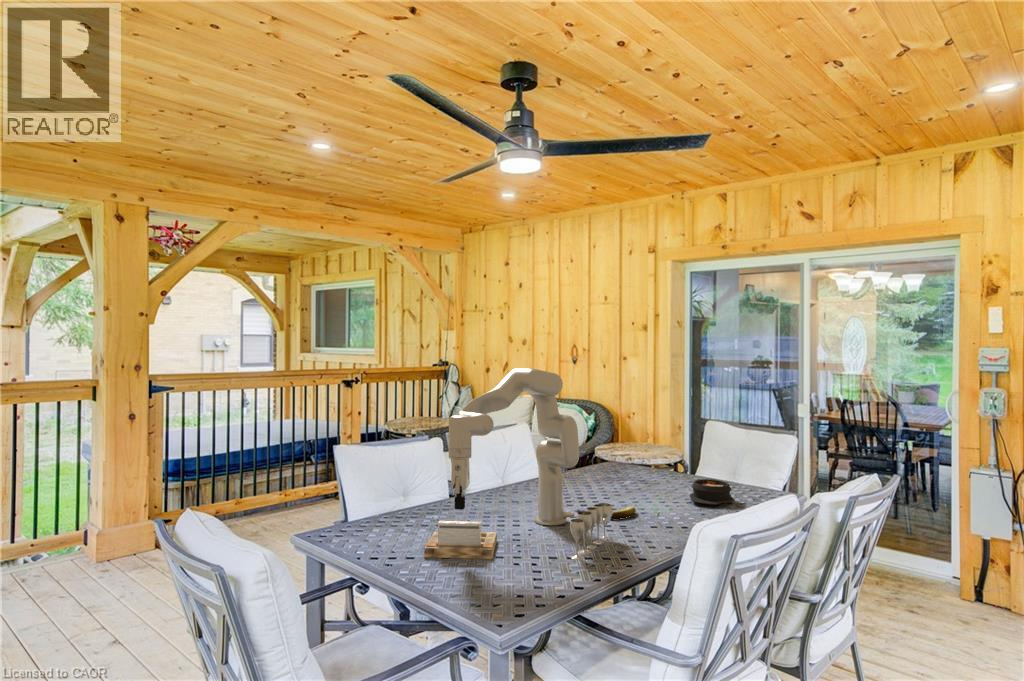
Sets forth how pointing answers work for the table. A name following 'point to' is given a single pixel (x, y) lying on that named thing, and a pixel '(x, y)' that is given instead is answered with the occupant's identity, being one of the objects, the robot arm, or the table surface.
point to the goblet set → (589, 525)
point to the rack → (462, 548)
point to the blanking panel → (459, 534)
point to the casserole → (711, 492)
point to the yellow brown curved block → (623, 513)
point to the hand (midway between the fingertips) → (459, 508)
